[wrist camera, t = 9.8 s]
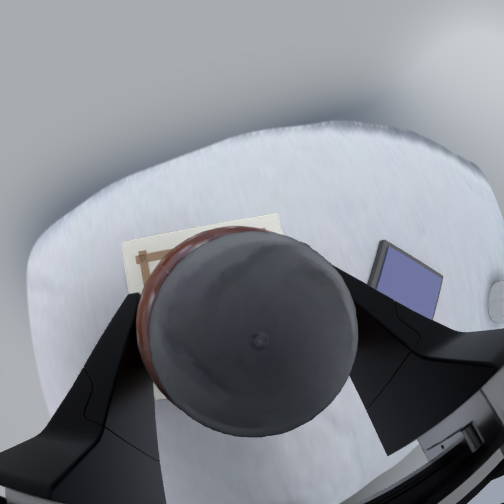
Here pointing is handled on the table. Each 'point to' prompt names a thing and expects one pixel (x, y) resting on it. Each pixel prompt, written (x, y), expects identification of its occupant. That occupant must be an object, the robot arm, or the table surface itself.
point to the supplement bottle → (247, 330)
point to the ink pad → (406, 279)
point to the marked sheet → (157, 246)
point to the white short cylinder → (496, 302)
